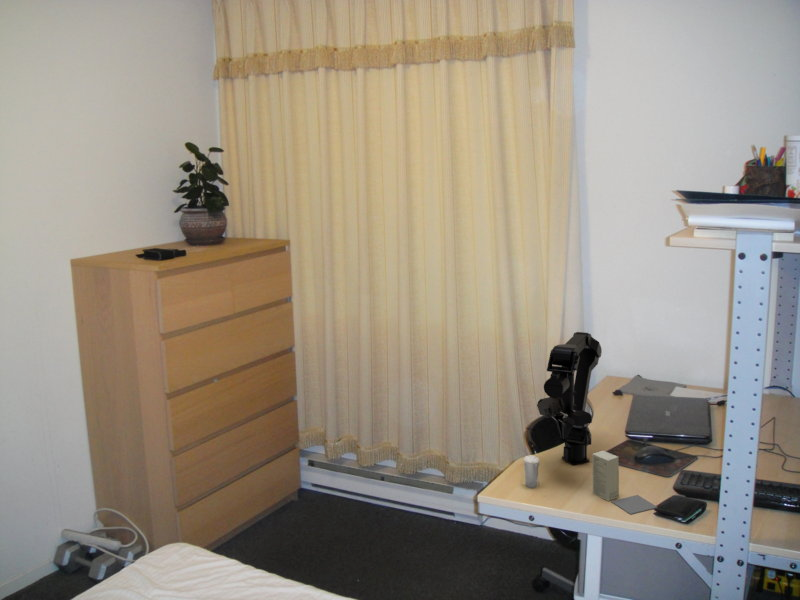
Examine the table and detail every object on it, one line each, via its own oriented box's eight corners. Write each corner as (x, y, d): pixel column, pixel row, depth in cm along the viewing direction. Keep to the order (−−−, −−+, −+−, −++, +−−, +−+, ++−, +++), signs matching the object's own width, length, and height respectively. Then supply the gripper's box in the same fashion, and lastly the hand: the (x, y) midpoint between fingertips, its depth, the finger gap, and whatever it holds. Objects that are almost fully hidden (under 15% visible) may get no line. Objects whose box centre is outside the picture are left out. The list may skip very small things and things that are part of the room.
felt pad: (637, 495, 197) (637, 494, 197) (657, 507, 189) (657, 506, 189) (611, 502, 194) (611, 501, 193) (630, 514, 186) (630, 513, 186)
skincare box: (619, 497, 196) (620, 457, 194) (607, 501, 194) (608, 460, 192) (602, 489, 201) (603, 449, 199) (591, 493, 199) (591, 453, 197)
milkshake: (542, 489, 202) (542, 457, 201) (523, 488, 203) (523, 456, 202) (542, 483, 207) (542, 451, 205) (523, 482, 208) (523, 450, 206)
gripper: (523, 384, 211) (523, 433, 214) (562, 401, 195) (561, 454, 197) (552, 378, 216) (552, 426, 219) (593, 394, 199) (592, 446, 202)
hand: (563, 438), depth 209 cm, fingers closed
